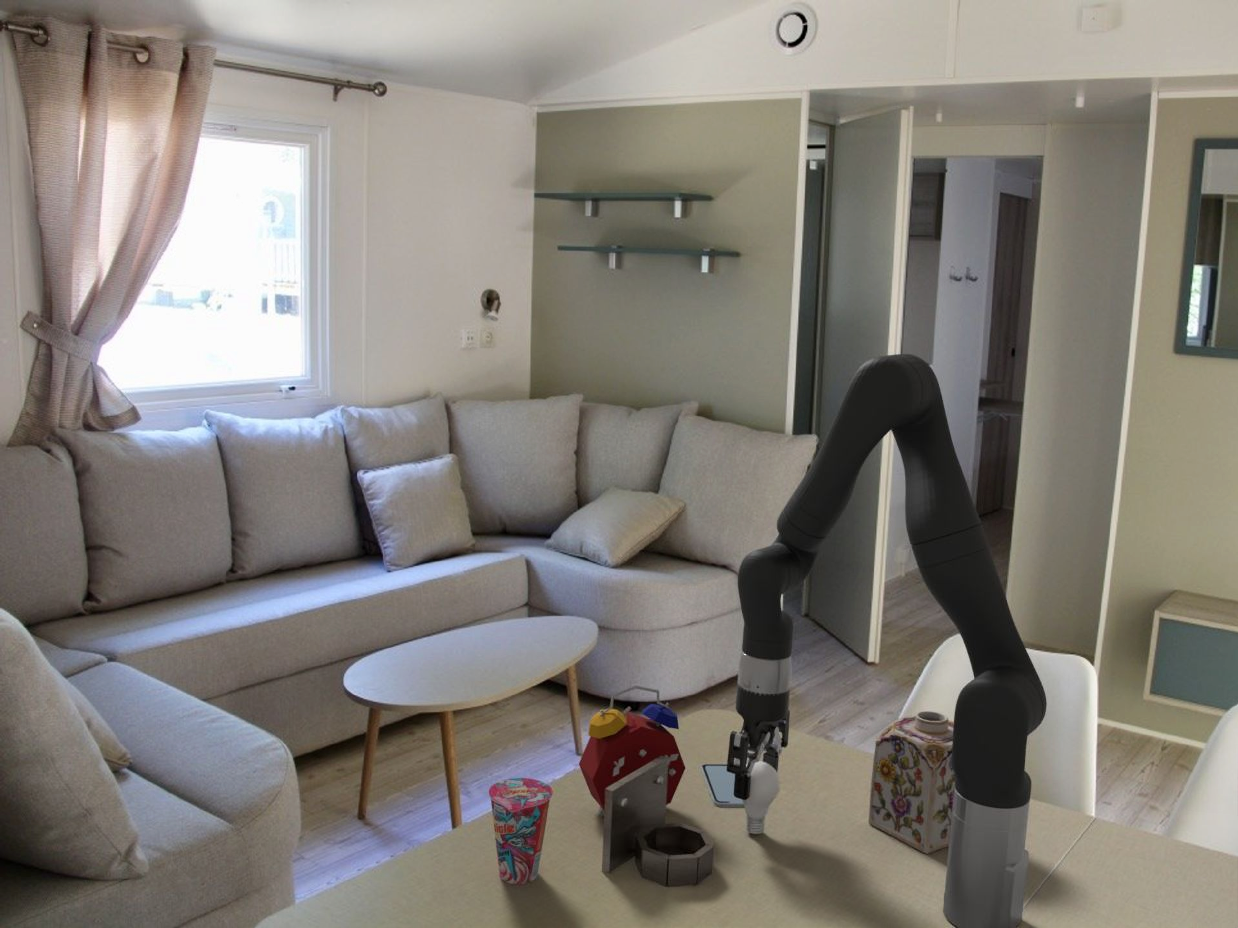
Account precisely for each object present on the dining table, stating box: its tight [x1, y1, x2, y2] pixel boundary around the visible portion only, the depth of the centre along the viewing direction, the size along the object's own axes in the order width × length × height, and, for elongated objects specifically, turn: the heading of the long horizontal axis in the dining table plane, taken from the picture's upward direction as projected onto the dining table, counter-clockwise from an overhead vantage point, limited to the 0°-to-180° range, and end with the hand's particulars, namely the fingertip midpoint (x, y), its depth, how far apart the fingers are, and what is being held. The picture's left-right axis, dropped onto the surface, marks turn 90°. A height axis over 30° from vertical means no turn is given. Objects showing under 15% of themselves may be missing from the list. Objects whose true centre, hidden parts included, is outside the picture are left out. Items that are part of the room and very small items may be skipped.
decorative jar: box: [868, 710, 955, 855], centre depth 182 cm, size 12×12×18 cm
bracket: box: [601, 756, 715, 888], centre depth 169 cm, size 12×14×12 cm
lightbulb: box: [743, 760, 781, 836], centre depth 179 cm, size 6×6×11 cm
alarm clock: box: [578, 685, 686, 818], centre depth 182 cm, size 15×9×20 cm, turn 111°
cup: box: [488, 777, 554, 885], centre depth 164 cm, size 9×8×12 cm
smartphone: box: [700, 763, 745, 808], centre depth 196 cm, size 7×1×15 cm
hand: (755, 787), depth 179 cm, fingers open, 8 cm apart
